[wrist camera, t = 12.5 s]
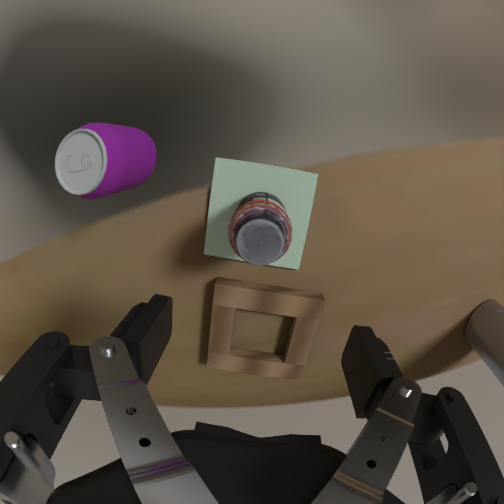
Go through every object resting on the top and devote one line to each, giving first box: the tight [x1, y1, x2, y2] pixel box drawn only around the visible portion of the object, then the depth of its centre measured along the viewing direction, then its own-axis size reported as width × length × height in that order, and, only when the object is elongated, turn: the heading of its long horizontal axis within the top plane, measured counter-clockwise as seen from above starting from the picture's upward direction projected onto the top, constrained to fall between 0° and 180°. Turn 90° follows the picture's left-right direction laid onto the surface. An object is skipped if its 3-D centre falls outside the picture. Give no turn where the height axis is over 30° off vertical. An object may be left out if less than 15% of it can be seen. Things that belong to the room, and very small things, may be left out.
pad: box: [204, 158, 318, 270], centre depth 35 cm, size 12×12×1 cm
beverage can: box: [55, 123, 157, 199], centre depth 28 cm, size 8×8×12 cm
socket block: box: [207, 277, 325, 380], centre depth 39 cm, size 14×14×2 cm
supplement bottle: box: [228, 192, 292, 266], centre depth 29 cm, size 6×6×11 cm
